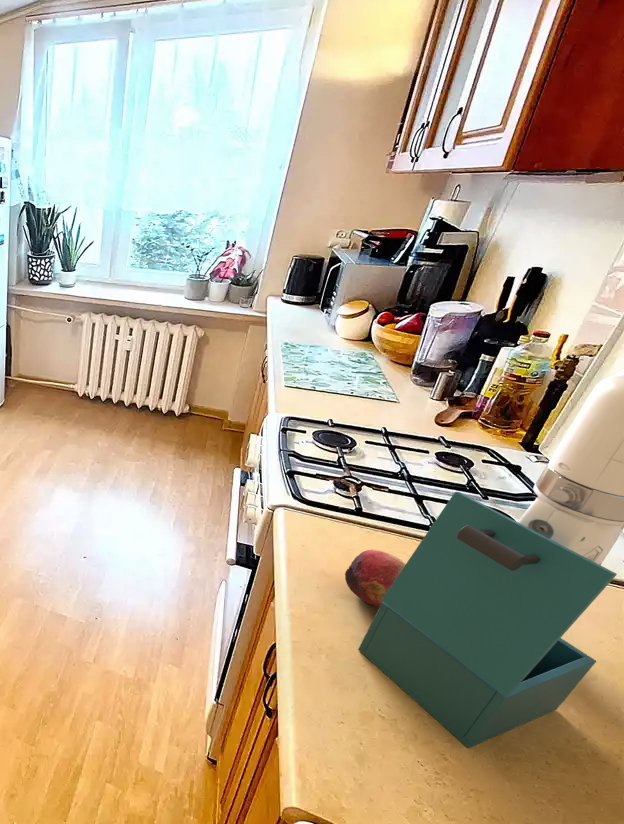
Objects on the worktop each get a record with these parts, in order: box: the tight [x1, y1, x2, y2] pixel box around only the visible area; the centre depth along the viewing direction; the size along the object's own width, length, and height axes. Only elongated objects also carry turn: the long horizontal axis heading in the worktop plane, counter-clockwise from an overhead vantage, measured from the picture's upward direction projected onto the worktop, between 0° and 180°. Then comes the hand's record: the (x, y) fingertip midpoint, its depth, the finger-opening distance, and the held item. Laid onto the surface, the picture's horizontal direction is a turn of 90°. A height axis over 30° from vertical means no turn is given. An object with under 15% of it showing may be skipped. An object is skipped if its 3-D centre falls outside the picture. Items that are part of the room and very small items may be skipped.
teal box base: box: [357, 602, 597, 749], centre depth 64 cm, size 16×14×9 cm
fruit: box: [344, 549, 406, 608], centre depth 76 cm, size 8×8×8 cm
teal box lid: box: [382, 491, 618, 696], centre depth 56 cm, size 16×14×6 cm
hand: (508, 612), depth 62 cm, fingers open, 7 cm apart
